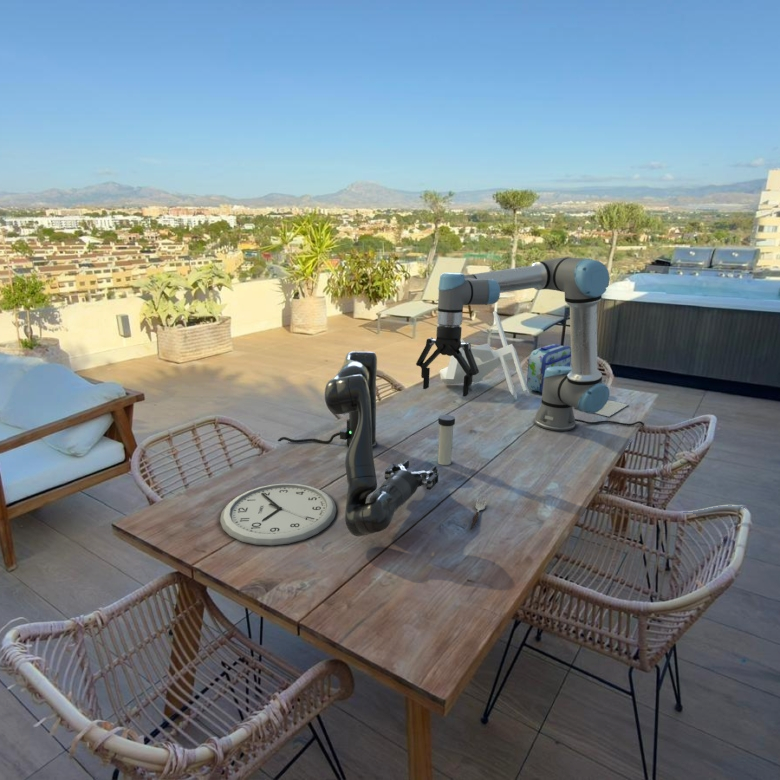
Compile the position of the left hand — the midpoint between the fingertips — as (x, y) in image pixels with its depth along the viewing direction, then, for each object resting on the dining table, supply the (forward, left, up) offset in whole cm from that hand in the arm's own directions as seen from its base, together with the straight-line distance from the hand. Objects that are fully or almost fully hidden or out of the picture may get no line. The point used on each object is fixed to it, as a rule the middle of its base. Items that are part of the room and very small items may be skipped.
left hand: (421, 466), depth 151 cm
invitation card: (+41, +105, -7) cm, 113 cm away
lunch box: (+15, +120, -7) cm, 122 cm away
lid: (0, +20, +8) cm, 22 cm away
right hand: (-1, +22, +16) cm, 27 cm away
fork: (+19, -7, -7) cm, 22 cm away
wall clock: (-28, -30, -7) cm, 42 cm away
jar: (0, +20, -7) cm, 22 cm away
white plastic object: (-12, +99, -7) cm, 100 cm away
